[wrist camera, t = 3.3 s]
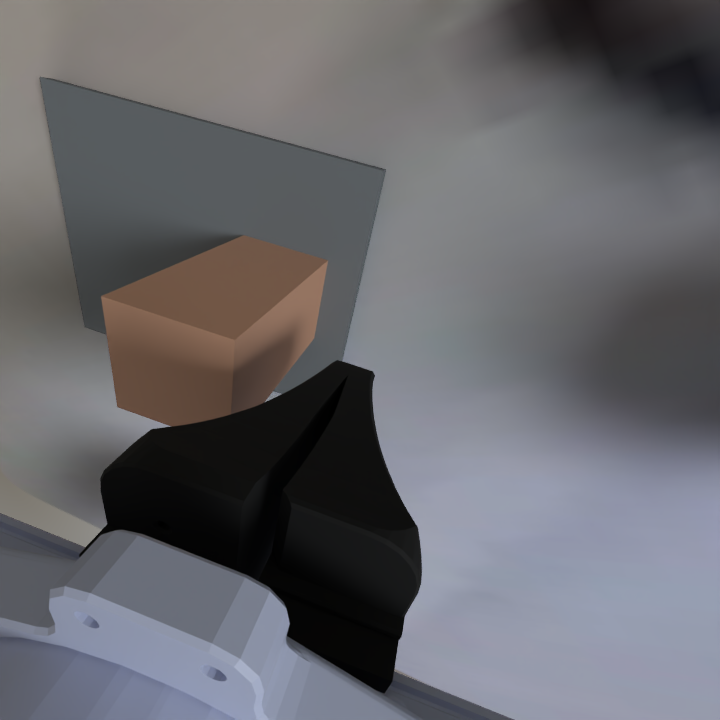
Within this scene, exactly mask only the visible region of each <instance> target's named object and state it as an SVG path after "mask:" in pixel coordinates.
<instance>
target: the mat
mask: <svg viewBox="0 0 720 720" xmlns="http://www.w3.org/2000/svg"><path fill="white" fill-rule="evenodd" d="M40 82H41V88H42V93H43V99H44V104H45V110H46V115H47V121H48V126H49V132H50V137H51V143H52V148H53V154H54V159H55V165H56V171H57V176H58V182H59V187H60V193H61V198H62V204H63V209H64V215H65V220H66V226H67V231H68V237H69V242H70V248H71V253H72V259H73V265H74V270H75V276H76V281H77V287H78V292H79V298H80V303H81V309H82V314H83V320H84V325H85V327H86V328H89V329H92V330H95V331H98V332H101V333H104V334H107V333H106V326H105V319H104V313H103V306H102V299H101V296H103V295H105V294H107V293H110V292H112V291H114V290H117V289H119V288H121V287H124V286H126V285H128V284H131V283H133V282H136V281H138V280H140V279H143V278H145V277H147V276H150V275H152V274H154V273H157V272H159V271H161V270H164V269H166V268H168V267H171V266H173V265H175V264H178V263H180V262H182V261H185V260H187V259H189V258H192V257H194V256H196V255H199V254H201V253H203V252H206V251H208V250H210V249H213V248H215V247H217V246H220V245H222V244H224V243H227V242H229V241H231V240H234V239H236V238H238V237H241V236H243V235H245V236H248V237H252V238H255V239H258V240H262V241H265V242H268V243H272V244H275V245H278V246H282V247H285V248H288V249H292V250H295V251H298V252H302V253H305V254H308V255H312V256H315V257H318V258H322V259H325V260H328V264H327V269H326V275H325V281H324V286H323V292H322V297H321V303H320V309H319V314H318V320H317V326H316V331H315V337H314V339H313V341H312V342H311V343H310V344H309V346H308V347H307V348H306V350H305V351H304V352H303V353H302V355H301V356H300V357H299V358H298V360H297V361H296V362H295V364H294V365H293V366H292V367H291V369H290V370H289V371H288V373H287V374H286V375H285V376H284V378H283V379H282V380H281V381H280V383H279V384H278V385H277V387H276V388H275V389H274V390H273V391H275V392H278V393H281V394H283V393H285V392H287V391H289V390H291V389H293V388H295V387H296V386H298V385H300V384H301V383H303V382H305V381H306V380H308V379H309V378H311V377H313V376H314V375H316V374H317V373H319V372H320V371H321V370H323V369H324V368H326V367H327V366H328V365H330V364H331V363H332V362H334V361H336V360H339V361H342V359H343V355H344V350H345V346H346V342H347V337H348V333H349V329H350V324H351V320H352V316H353V311H354V307H355V302H356V298H357V294H358V289H359V285H360V281H361V276H362V272H363V268H364V263H365V259H366V255H367V250H368V246H369V242H370V237H371V233H372V228H373V224H374V220H375V215H376V211H377V207H378V202H379V198H380V194H381V189H382V185H383V181H384V176H385V172H386V169H382V168H378V167H375V166H371V165H367V164H364V163H360V162H356V161H353V160H349V159H345V158H342V157H338V156H334V155H330V154H327V153H323V152H319V151H316V150H312V149H308V148H305V147H301V146H297V145H294V144H290V143H286V142H283V141H279V140H275V139H272V138H268V137H264V136H261V135H257V134H253V133H250V132H246V131H242V130H239V129H235V128H231V127H228V126H224V125H220V124H217V123H213V122H209V121H206V120H202V119H198V118H195V117H191V116H187V115H184V114H180V113H176V112H173V111H169V110H165V109H162V108H158V107H154V106H151V105H147V104H143V103H140V102H136V101H132V100H129V99H125V98H121V97H118V96H114V95H110V94H107V93H103V92H99V91H96V90H92V89H88V88H85V87H81V86H77V85H73V84H70V83H66V82H62V81H59V80H55V79H50V78H43V77H40Z"/></svg>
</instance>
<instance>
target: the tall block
mask: <svg viewBox="0 0 720 720" xmlns="http://www.w3.org/2000/svg"><path fill="white" fill-rule="evenodd" d="M327 264H328V260H325V259H322V258H318V257H315V256H312V255H308V254H305V253H302V252H298V251H295V250H292V249H288V248H285V247H282V246H278V245H275V244H272V243H268V242H265V241H262V240H258V239H255V238H252V237H248V236H245V235H243V236H241V237H238V238H236V239H234V240H231V241H229V242H227V243H224V244H222V245H220V246H217V247H215V248H213V249H210V250H208V251H206V252H203V253H201V254H199V255H196V256H194V257H192V258H189V259H187V260H185V261H182V262H180V263H178V264H175V265H173V266H171V267H168V268H166V269H164V270H161V271H159V272H157V273H154V274H152V275H150V276H147V277H145V278H143V279H140V280H138V281H136V282H133V283H131V284H128V285H126V286H124V287H121V288H119V289H117V290H114V291H112V292H110V293H107V294H105V295H103V296H101V299H102V306H103V313H104V319H105V326H106V333H107V339H108V346H109V353H110V360H111V366H112V373H113V380H114V387H115V393H116V400H117V407H119V408H122V409H124V410H127V411H130V412H133V413H136V414H138V415H141V416H144V417H147V418H150V419H152V420H155V421H158V422H161V423H164V424H166V425H169V426H179V425H186V424H192V423H197V422H202V421H207V420H211V419H215V418H219V417H223V416H227V415H230V414H233V413H237V412H240V411H243V410H246V409H249V408H252V407H255V406H257V405H260V404H262V403H264V402H265V401H266V399H267V398H268V397H269V395H270V394H271V393H272V392H273V390H274V389H275V388H276V387H277V385H278V384H279V383H280V381H281V380H282V379H283V378H284V376H285V375H286V374H287V373H288V371H289V370H290V369H291V367H292V366H293V365H294V364H295V362H296V361H297V360H298V358H299V357H300V356H301V355H302V353H303V352H304V351H305V350H306V348H307V347H308V346H309V344H310V343H311V342H312V341H313V339H314V337H315V331H316V326H317V320H318V314H319V309H320V303H321V297H322V292H323V286H324V281H325V275H326V269H327Z"/></svg>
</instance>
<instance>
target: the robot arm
mask: <svg viewBox="0 0 720 720" xmlns="http://www.w3.org/2000/svg"><path fill="white" fill-rule="evenodd" d="M374 377H375V375H374V373H373V371H370V370H367V369H364V368H361V367H358V366H355V365H352V364H349V363H345V362H342V361H339V360H336V361H334V362H332V363H331V364H330V365H328V366H327V367H326V368H324V369H323V370H321V371H320V372H319V373H317V374H316V375H314V376H313V377H311V378H309V379H308V380H306V381H305V382H303V383H301V384H300V385H298V386H296V387H295V388H293V389H291V390H289V391H287V392H285V393H283V394H281V395H280V396H278V397H275V398H273V399H271V400H269V401H267V402H265V403H262V404H260V405H257V406H255V407H252V408H249V409H246V410H243V411H240V412H237V413H233V414H230V415H227V416H223V417H219V418H215V419H211V420H207V421H202V422H197V423H192V424H186V425H179V426H172V427H165V428H158V429H151V430H150V431H149V432H147V433H146V434H145V435H144V436H142V437H141V438H140V439H138V440H137V441H136V442H135V443H134V444H132V445H131V446H130V447H129V448H128V449H127V450H126V451H125V452H124V453H123V454H121V455H120V456H119V457H118V458H117V459H116V460H115V461H114V462H113V463H112V464H110V465H109V466H108V467H107V468H106V469H105V470H104V472H103V474H102V476H101V494H102V499H103V504H104V509H105V514H106V519H107V525H106V526H105V527H104V528H103V529H102V531H101V532H100V533H99V534H98V535H97V536H96V537H95V538H94V539H93V540H92V541H91V542H90V543H89V544H88V545H87V546H86V547H83V546H81V545H78V544H76V543H73V542H70V541H68V540H66V539H63V538H61V537H58V536H56V535H53V534H51V533H48V532H46V531H43V530H41V529H38V528H36V527H33V526H31V525H28V524H26V523H23V522H21V521H18V520H16V519H14V518H11V517H8V516H6V515H3V514H1V513H0V720H514V719H511V718H509V717H506V716H504V715H501V714H499V713H496V712H494V711H491V710H489V709H486V708H484V707H481V706H479V705H476V704H474V703H471V702H469V701H466V700H464V699H461V698H459V697H456V696H454V695H451V694H449V693H446V692H444V691H441V690H439V689H436V688H434V687H431V686H429V685H426V684H424V683H422V682H419V681H417V680H414V679H412V678H409V677H406V676H404V675H402V674H399V673H397V672H394V668H395V661H396V654H397V647H398V640H399V639H400V638H401V635H402V631H403V624H404V617H405V614H406V613H407V611H408V609H409V608H410V606H411V604H412V602H413V601H414V599H415V597H416V595H417V594H418V591H419V588H420V585H421V576H422V563H421V548H420V540H419V532H418V527H417V526H416V524H415V522H414V521H413V519H412V517H411V516H410V514H409V513H408V511H407V509H406V507H405V506H404V504H403V502H402V500H401V498H400V496H399V494H398V492H397V490H396V488H395V486H394V483H393V481H392V478H391V476H390V474H389V471H388V469H387V467H386V464H385V461H384V458H383V455H382V452H381V448H380V445H379V441H378V437H377V432H376V427H375V421H374V414H373V402H372V387H373V380H374Z"/></svg>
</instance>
